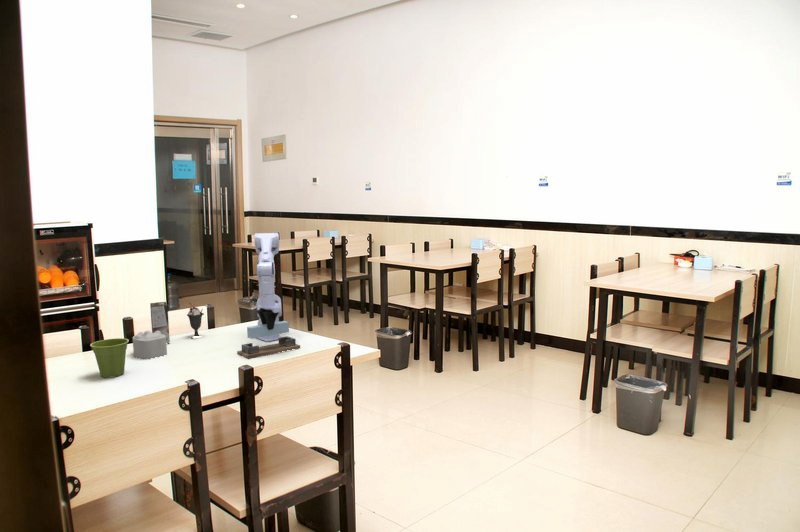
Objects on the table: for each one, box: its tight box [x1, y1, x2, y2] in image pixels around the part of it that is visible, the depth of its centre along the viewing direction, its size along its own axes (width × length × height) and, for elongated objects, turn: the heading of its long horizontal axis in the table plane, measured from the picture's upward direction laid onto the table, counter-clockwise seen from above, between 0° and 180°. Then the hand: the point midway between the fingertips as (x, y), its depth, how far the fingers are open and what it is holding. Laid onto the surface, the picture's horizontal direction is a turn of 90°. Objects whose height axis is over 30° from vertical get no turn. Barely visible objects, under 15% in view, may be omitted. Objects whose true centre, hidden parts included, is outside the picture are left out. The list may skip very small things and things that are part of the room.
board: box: [236, 335, 301, 360], centre depth 232 cm, size 9×22×4 cm, turn 130°
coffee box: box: [149, 301, 171, 343], centre depth 248 cm, size 9×6×16 cm
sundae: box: [186, 302, 205, 336], centre depth 255 cm, size 7×7×15 cm
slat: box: [246, 320, 290, 340], centre depth 232 cm, size 3×16×4 cm, turn 130°
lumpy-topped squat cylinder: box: [132, 330, 168, 360], centre depth 230 cm, size 10×13×9 cm
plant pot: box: [89, 337, 130, 378], centre depth 205 cm, size 12×12×11 cm
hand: (268, 328), depth 232 cm, fingers closed on slat, 3 cm apart
